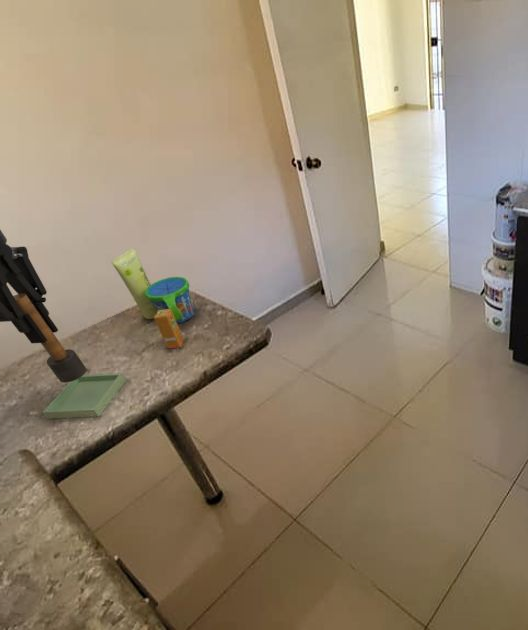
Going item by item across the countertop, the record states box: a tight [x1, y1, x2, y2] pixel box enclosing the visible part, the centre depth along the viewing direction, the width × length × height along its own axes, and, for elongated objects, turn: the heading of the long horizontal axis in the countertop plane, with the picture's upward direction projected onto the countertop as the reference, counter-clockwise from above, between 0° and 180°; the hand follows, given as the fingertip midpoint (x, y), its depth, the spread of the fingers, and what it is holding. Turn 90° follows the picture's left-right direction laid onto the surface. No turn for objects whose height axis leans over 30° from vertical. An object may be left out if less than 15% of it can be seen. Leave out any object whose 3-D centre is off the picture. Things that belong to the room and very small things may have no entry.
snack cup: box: [145, 276, 195, 324], centre depth 119 cm, size 16×10×10 cm
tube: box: [110, 247, 158, 320], centre depth 117 cm, size 6×5×20 cm
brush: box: [13, 293, 87, 384], centre depth 87 cm, size 5×5×20 cm
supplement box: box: [153, 309, 185, 350], centre depth 109 cm, size 3×4×10 cm
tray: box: [42, 372, 127, 420], centre depth 97 cm, size 11×11×2 cm
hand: (45, 336), depth 87 cm, fingers closed on brush, 3 cm apart
